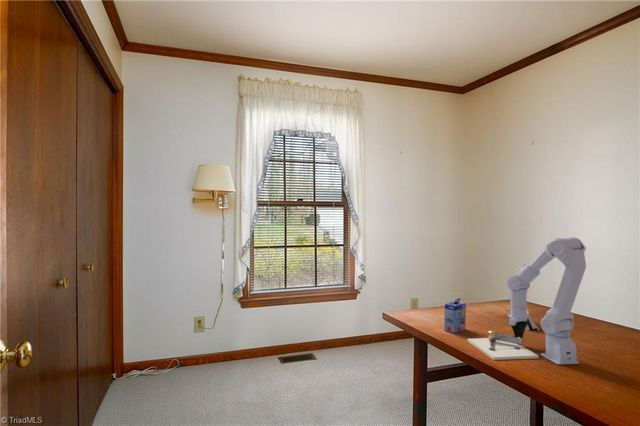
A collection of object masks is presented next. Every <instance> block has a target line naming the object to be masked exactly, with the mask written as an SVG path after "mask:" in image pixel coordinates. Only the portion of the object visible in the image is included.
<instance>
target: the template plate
mask: <svg viewBox="0 0 640 426" xmlns="http://www.w3.org/2000/svg"><path fill="white" fill-rule="evenodd" d="M490 341H494V350H491V349H490ZM467 342H468V343H470V344H471V345H472V346H473V347H475V348H476V349H478V350H479V351H481V352H482V353H483V354H485V355H486V356H487V357H489V358H490V359H492V360H493V361H499V360H500V361H501V360H502V361H503V360H523V359H524V360H525V359H526V360H528V359H530V360H531V359H539V355H538V354H536V353H535V352H534V351H532V350H530V349H528V348H526V347H524V346H523V345H522V346H520V345H518V344H514V343H509V342H503V341H498V340H490V339H488V337H482V338H481V337H480V338H479V337H478V338H477V337H476V338H474V337H473V338H467Z"/></svg>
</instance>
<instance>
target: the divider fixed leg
mask: <svg viewBox="0 0 640 426" xmlns="http://www.w3.org/2000/svg"><path fill="white" fill-rule="evenodd" d="M490 349H491V350H494V341H490Z"/></svg>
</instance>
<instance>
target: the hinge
mask: <svg viewBox="0 0 640 426" xmlns="http://www.w3.org/2000/svg"><path fill="white" fill-rule="evenodd" d="M527 314H528V318H527V320H526V322H528V324H527V326H526V328H525V330H527V331H529V330H530V329H531V330H534V329H536V330H537V331H538V332H539V331H540V329H539V327H538V325H537V324H536V323H535V322H534V321H533V319H532V317H531V315H530V313H529V311H528V310H527Z"/></svg>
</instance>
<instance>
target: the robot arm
mask: <svg viewBox="0 0 640 426" xmlns="http://www.w3.org/2000/svg"><path fill="white" fill-rule="evenodd" d="M585 252H586V246H585V244H584V243H583V242H582V240H581V239H579V238H577V237H569V238H568V237H566V238H557V237H556V238H553V239H552V240H551V241H550V242H549V243H547V244H546V246H545V248H544V249H543V250H542V252H541V253H540V254H539V255H538V256H537V257H536V258H535V260H534V261H533V262H528V263H524V264H522V268H521V269H520V270H519V271H516V272H515V275H509V276H508V278H507V280H506V285H507V288H508V289H509V290H510V291H509V292H510V293H509V294H510V295H509V298H510V299H509V301H510V313H509V314H507V317H508V318H509V320H508V325H510V327H511V328H512V332H513V336H516V337H521V338H522V340H523V339H524V334H525V330H526V326H527V324H529V323H528V322H526V320H527V318H528V314H527V311H528V309H527V308H528V307H527V302H528V301H527V294H528V289H529V288H530V286H531V284H530V283H532V282H533V281H534V280H535V279H537V278H538V277H539V276H540V274H541V269H542V268H543V267H545V266H546V265H548V263H550V262H551V261H552V260H553V259H555V258H557V260H559V261H560V262H561V263H562V264H563V266H565V269H564V271H563V275H562V277H561V281H560V284H559V287H558V290H557V292H556V296H555V298H554V302H553V305H552V307H550V309H548V310H547V311H546V312H545V313H546V314H545V315H544V317H542V318H541V320H540V327H541V329H542V330H543V332H544V334H545V352H542V353H541V352H540V353H539V355H540V356H542V357H543V358H545V359H547V360H548V361H551V362H552V363H554V364H556V365H578V364H579V363H580V362H579V361H577V360H578V359H577V344H576V343H575V342H574V340H572V339H571V337H570V334H571V331H572V330H573V329H574V317H575V315H574V314H573V313H572V308H573V306H574V302H575V300H576V298H577V294H578V292H579V289H580V286H581V283H582V280H583V276H584V273H585V271H586V268H587V262H586V256H585Z"/></svg>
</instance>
